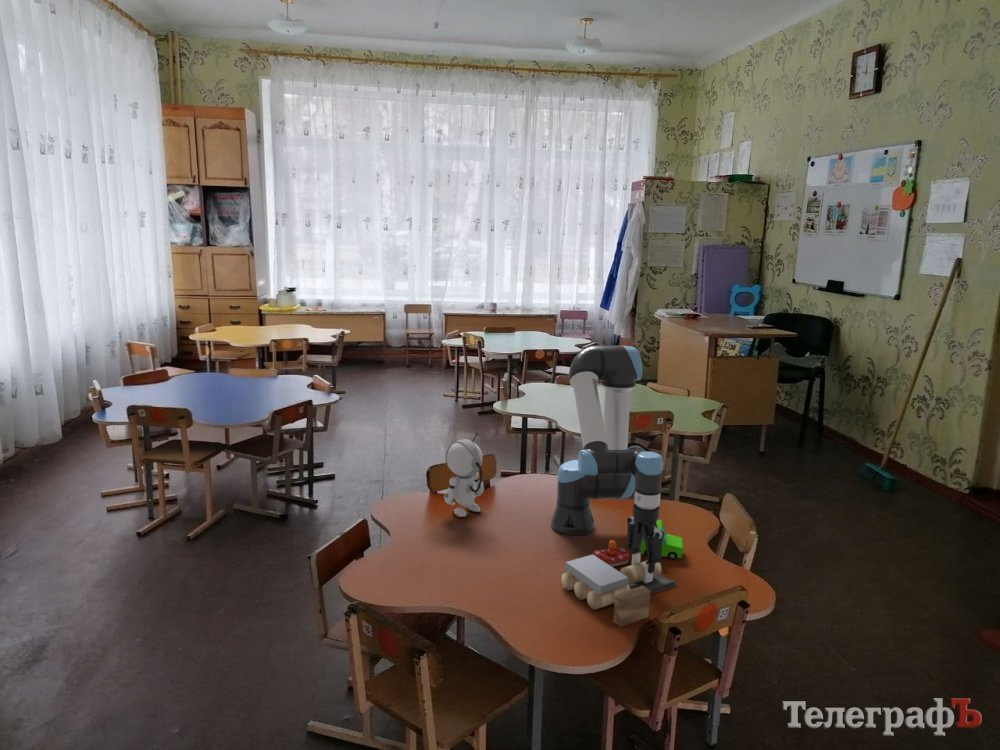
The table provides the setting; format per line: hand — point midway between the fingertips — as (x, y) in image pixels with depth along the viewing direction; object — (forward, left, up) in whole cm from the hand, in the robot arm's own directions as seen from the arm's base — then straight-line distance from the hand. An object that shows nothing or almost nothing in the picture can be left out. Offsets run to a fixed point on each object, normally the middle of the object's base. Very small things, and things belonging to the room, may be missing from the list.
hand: (641, 577), depth 212 cm
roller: (0, 0, -1) cm, 1 cm away
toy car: (-11, +19, -2) cm, 22 cm away
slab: (-2, -16, +3) cm, 16 cm away
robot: (-70, -21, -2) cm, 74 cm away
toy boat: (-15, +1, -2) cm, 15 cm away
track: (+2, -7, -2) cm, 7 cm away
